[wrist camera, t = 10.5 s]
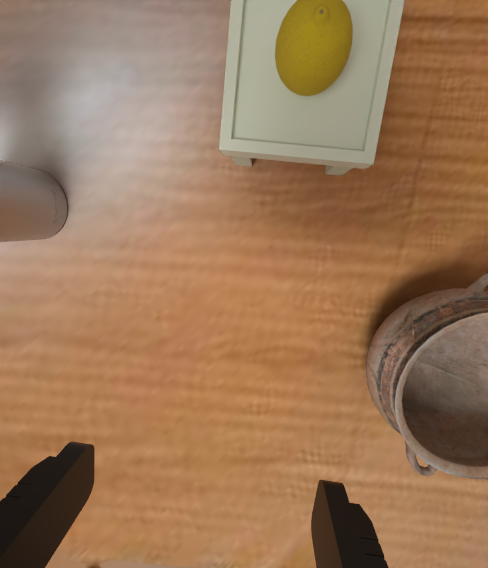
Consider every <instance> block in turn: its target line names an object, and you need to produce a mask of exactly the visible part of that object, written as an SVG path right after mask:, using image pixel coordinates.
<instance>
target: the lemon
mask: <svg viewBox="0 0 488 568" xmlns="http://www.w3.org/2000/svg"><path fill="white" fill-rule="evenodd" d="M352 36H353V25H352V20H351V15H350V12H349V10H348V8H347V6H346V4H345V3H344V2H343V1H342V0H297V1H296V2H295V3H294V4H293V5H292V6H291V8H290V9H289V10H288V12H287V14H286V15H285V17H284V19H283V21H282V23H281V26H280V29H279V32H278V35H277V38H276V46H275V61H276V68H277V71H278V74H279V77H280V79H281V81H282V82H283V83H284V85H285V86H286V87H287V88H288V89H289V90H290V91H292V92H293V93H295V94H298V95H302V96H312V95H316V94H319V93H321V92H323V91H325V90H326V89H327V88H329V87H330V86H331V85H332V84H333V83H334V82H335V81H336V79H337V78H338V77H339V76H340V74H341V73H342V71H343V69H344V67H345V65H346V63H347V61H348V58H349V54H350V50H351V46H352Z"/></svg>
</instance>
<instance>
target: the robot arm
mask: <svg viewBox="0 0 488 568" xmlns="http://www.w3.org/2000/svg"><path fill="white" fill-rule="evenodd" d="M66 216H67V202H66V198H65V195H64V192H63V191H62V189H61V187H60V185H59V184H58V183H57V182H56V180H55V179H53V178H52V177H51V176H50V175H48V174H47V173H45V172H43V171H40V170H37V169H34V168H30V167H25V166H21V165H17V164H13V163H9V162H5V161H1V160H0V242H9V241H25V240H38V239H46V238H49V237H52V236H53V235H55V234H56V233H58V231H59V230H60V229H61V228H62V226H63V225H64V223H65V220H66ZM93 484H94V446H93V445H91V444H84V443H78V442H70V443H68V444H67V445H66V446H65V447H64V449H63V450H62V451H61V452H60V453H59V454H58V455H57V456H56V457H52V456H49V457H47V458H46V459H44V460H43V461H41V462H40V463H38V464H37V465H35V466H34V467H32V468H31V469H30V470H29V471H28V472H27V474H26V475H25V476H24V477H23V478H22V479H21V480H20V481H19V482H18V484H17V486H16V485H15V486H14V487H13V488H12V489H11V491H10V492H9V493H8V494H7V495H6V497H5V498H3V499H2V500H1V501H0V568H45V567H46V565H47V563H48V562H49V560H50V559H51V557H52V555H53V554H54V552H55V551H56V549H57V548H58V546H59V545H60V543H61V541H62V540H63V538H64V537H65V535H66V533H67V532H68V530H69V529H70V527H71V526H72V524H73V522H74V521H75V519H76V518H77V516H78V514H79V513H80V511H81V510H82V508H83V507H84V505H85V503H86V502H87V500H88V498H89V496H90V494H91V491H92V488H93ZM311 531H312V540H313V547H314V553H315V560H316V566H317V568H388V565H387V563H386V561H385V560H384V554H383V552H382V549H381V546H380V544H379V543H378V538H377V535H376V532H375V529H374V527H373V524H372V521H371V520H370V518H369V517H368V516H367V514H366V513H365V511H364V510H363V509H362V507H361V506H360V505H359V504H354V503H349V500H348V497H347V494H346V490H345V487H344V485H343V484H342V483H338V482H332V481H325V480H320V481H319V483H318V488H317V492H316V497H315V502H314V507H313V512H312V520H311Z"/></svg>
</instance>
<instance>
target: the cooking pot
mask: <svg viewBox="0 0 488 568" xmlns="http://www.w3.org/2000/svg"><path fill="white" fill-rule="evenodd" d="M487 285H488V272H487V273H486V274H484V275H483V276H481V277H480V278H478V279H477V280H476V281H475V282H473V283H472V284H471V285H470V286H469V287H467V288H451V289H444V290H438V291H433V292H430V293H427V294H424V295H421V296H418V297H416V298H414V299H412V300H410V301H408V302H406V303H404V304H403V305H401V306H400V307H399V308H397V309H396V310H395V311H393V312H392V313H391V314H390V315H389V316H388V317H387V318H386V319H385V320H384V321H383V323H382V324H381V325H380V327H379V328H378V330H377V331H376V333H375V335H374V337H373V339H372V341H371V343H370V347H369V350H368V354H367V361H366V377H367V385H368V388H369V391H370V394H371V397H372V400H373V402H374V403H375V405H376V407H377V409H378V410H379V412H380V414H381V415H382V416H383V418H384V419H385V420H386V421H387V422H388V423H389V424H390V426H391V427H392V428H393V429H395V430H396V431H397V432H398V433H400V434H401V435H402V436H403V437H404V439H405V444H406V454H407V457H408V460H409V462H410V464H411V466H412V468H413V469H414V470H415V471H416V472H417V473H419V474H420V475H423V476H431V475H433V474H434V473H435V472H436V470H437V469H439V470H441V471H443V472H446V473H449V474H452V475H455V476H459V477H465V478H470V479H488V291H484V289H485V287H486V286H487ZM415 453H416V455H418V456H419V457H420V458H421V459H423V460H424V461H425V462H426V463H428V464H429V465H428V466H427V467H422V466H420V465H419V464H418V462H417V459H416V456H415Z"/></svg>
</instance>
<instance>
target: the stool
mask: <svg viewBox="0 0 488 568" xmlns="http://www.w3.org/2000/svg"><path fill="white" fill-rule="evenodd" d="M296 1H297V0H231V10H230V22H229V34H228V47H227V59H226V71H225V83H224V95H223V107H222V120H221V132H220V144H219V150H220V152H221V153H222V155H226V156H231V157H232V159H233V161H234V163H235V164H236V165H239V166H249V167H252V161H253V158H257V159H267V160H277V161H287V162H298V163H308V164H318V165H326V169H325V174H329V175H339V176H341V175H343V174H345V173H346V172H348V171H349V170H351V169H352V168H359V169H366V168H368V167H370V166H371V165H373V164H374V159H375V154H376V149H377V143H378V138H379V133H380V127H381V122H382V117H383V111H384V106H385V101H386V96H387V90H388V85H389V80H390V74H391V69H392V64H393V58H394V53H395V48H396V43H397V37H398V32H399V27H400V21H401V16H402V11H403V5H404V0H342V1H343V2H344V3H345V4H346V6H347V8H348V10H349V12H350V15H351V20H352V25H353V36H352V46H351V50H350V54H349V58H348V61H347V63H346V65H345V67H344V69H343V71H342V73H341V74H340V76H339V77H338V78H337V79H336V81H335V82H334V83H333V84H332V85H331V86H330V87H329V88H327V89H326V90H325V91H323V92H321V93H319V94H316V95H312V96H302V95H298V94H295V93H293V92H292V91H290V90H289V89H288V88H287V87H286V86H285V85H284V83H283V82H282V81H281V79H280V77H279V74H278V71H277V68H276V61H275V46H276V38H277V35H278V32H279V29H280V26H281V23H282V21H283V19H284V17H285V15H286V14H287V12H288V10H289V9H290V8H291V6H292V5H293V4H294V3H295V2H296Z"/></svg>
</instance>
